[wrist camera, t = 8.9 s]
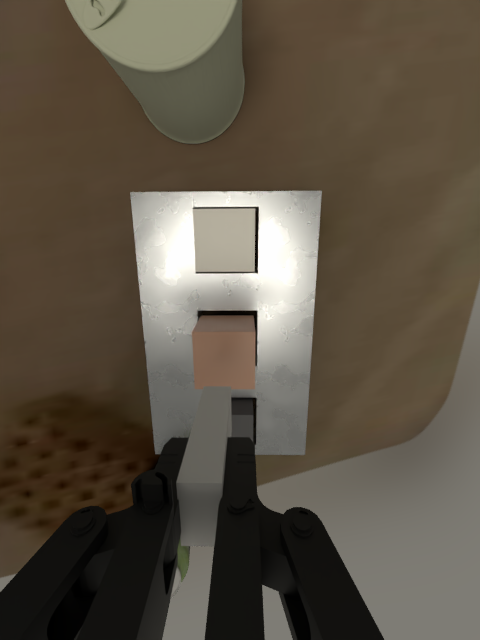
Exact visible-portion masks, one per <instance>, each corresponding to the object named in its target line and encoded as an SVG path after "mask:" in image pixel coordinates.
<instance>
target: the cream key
mask: <svg viewBox="0 0 480 640" xmlns="http://www.w3.org/2000/svg"><path fill="white" fill-rule="evenodd" d="M193 227H194V249H195V272H255V208H250V209H193Z"/></svg>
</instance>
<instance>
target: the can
mask: <svg viewBox="0 0 480 640" xmlns="http://www.w3.org/2000/svg"><path fill="white" fill-rule="evenodd" d="M65 1H66V4H67V6H68V8H69V10H70V12H71V14H72V16H73V18H74V19H75V21H76V22H77V24H78V26H79V27H80V29H81V30H82V31H83V33H84V34H85V35H86V36H87V38H88V39H89V40H90V41H91V42H92V43H93V44H94V45H95V46H96V47H97V48H98V49H99V51H100V52H101V53H102V55H103V56H104V57H105V58H106V60H107V61H108V62H109V63H110V65H111V66H112V67H113V69H114V70H115V71H116V72H117V74H118V75H119V76H120V78H121V79H122V80H123V82H124V83H125V84H126V86H127V87H128V88H129V90H130V91H131V92H132V94H133V95H134V96H135V98H136V99H137V100H138V102H139V103H140V104H141V106H142V108H143V110H144V112H145V114H146V115H147V117H148V118H149V120H150V121H151V123H152V124H153V125H154V126H155V127H156V128H157V129H158V130H159V131H160V132H161V133H163V134H164V135H166V136H167V137H169V138H171V139H173V140H175V141H178V142H181V143H186V144H199V143H204V142H208V141H210V140H212V139H214V138H216V137H218V136H219V135H221V134H222V133H223V132H224V131H225V130H226V129H227V128H228V127H229V126H230V125H231V124H232V122H233V121H234V119H235V118H236V116H237V114H238V112H239V109H240V107H241V104H242V100H243V96H244V86H245V78H244V69H243V64H242V0H65Z"/></svg>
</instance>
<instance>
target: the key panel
mask: <svg viewBox="0 0 480 640" xmlns="http://www.w3.org/2000/svg"><path fill="white" fill-rule="evenodd" d="M321 194H322V191H226V192H130V195H131V206H132V216H133V227H134V237H135V247H136V258H137V268H138V279H139V289H140V300H141V310H142V321H143V331H144V342H145V352H146V362H147V373H148V383H149V394H150V404H151V415H152V425H153V436H154V446H155V454H161V452H162V449H163V447H164V445H165V444H166V443H167V442H168V441H169V440H170V439H171V438H172V437H175V438H189V436H190V433H191V429H192V426H193V422H194V419H195V415H196V412H197V408H198V405H199V401H200V398H201V394H202V391H203V389H195V384H194V364H193V344H192V331H193V329H194V327H195V326H196V324H197V322H198V320H199V319H200V317H201V316H202V311H221V310H256V355H255V389H231V397H233V398H255V427H253V443H254V445H255V455H305V445H306V429H307V414H308V398H309V382H310V366H311V351H312V335H313V319H314V304H315V288H316V272H317V256H318V241H319V225H320V209H321ZM250 208H255V210H257V270H255V272H195V249H194V227H193V209H250Z"/></svg>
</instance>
